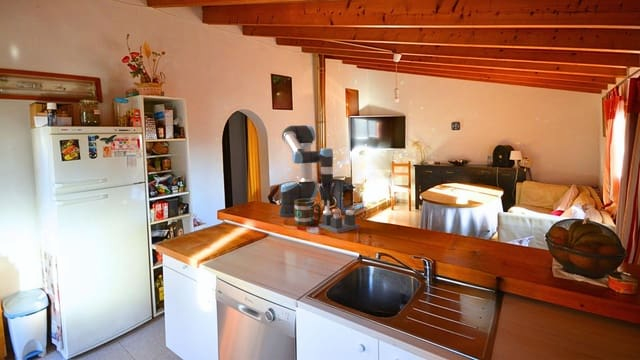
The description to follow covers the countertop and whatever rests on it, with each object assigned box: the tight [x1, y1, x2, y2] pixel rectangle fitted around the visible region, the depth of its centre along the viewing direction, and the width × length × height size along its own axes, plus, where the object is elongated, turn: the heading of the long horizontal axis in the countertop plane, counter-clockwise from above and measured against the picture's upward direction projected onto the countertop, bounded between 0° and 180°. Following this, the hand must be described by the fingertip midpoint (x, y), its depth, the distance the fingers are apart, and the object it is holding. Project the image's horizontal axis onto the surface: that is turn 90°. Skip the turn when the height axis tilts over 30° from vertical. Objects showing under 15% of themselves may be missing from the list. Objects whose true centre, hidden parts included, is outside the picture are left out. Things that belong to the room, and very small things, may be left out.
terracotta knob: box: [331, 208, 341, 218], centre depth 210 cm, size 5×5×8 cm
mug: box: [294, 199, 321, 227], centre depth 227 cm, size 20×14×15 cm
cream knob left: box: [345, 209, 355, 216], centre depth 217 cm, size 5×5×8 cm
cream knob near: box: [322, 209, 332, 216], centre depth 218 cm, size 5×5×8 cm
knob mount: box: [318, 214, 360, 234], centre depth 218 cm, size 18×18×8 cm
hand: (327, 210), depth 217 cm, fingers closed
